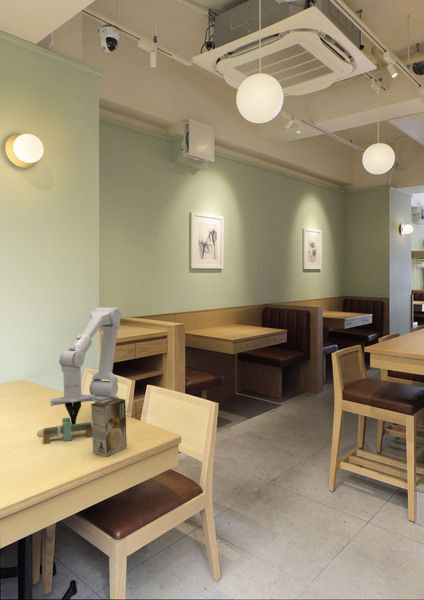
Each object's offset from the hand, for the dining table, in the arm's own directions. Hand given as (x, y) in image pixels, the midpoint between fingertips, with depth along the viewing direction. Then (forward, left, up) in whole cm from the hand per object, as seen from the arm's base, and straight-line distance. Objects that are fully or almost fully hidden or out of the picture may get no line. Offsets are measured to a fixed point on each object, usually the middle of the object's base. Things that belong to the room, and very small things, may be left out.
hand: (73, 423), depth 151 cm
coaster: (+7, -8, -5) cm, 12 cm away
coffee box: (-10, +17, -5) cm, 20 cm away
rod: (+2, 0, -5) cm, 5 cm away
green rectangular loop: (+2, 0, -5) cm, 5 cm away
